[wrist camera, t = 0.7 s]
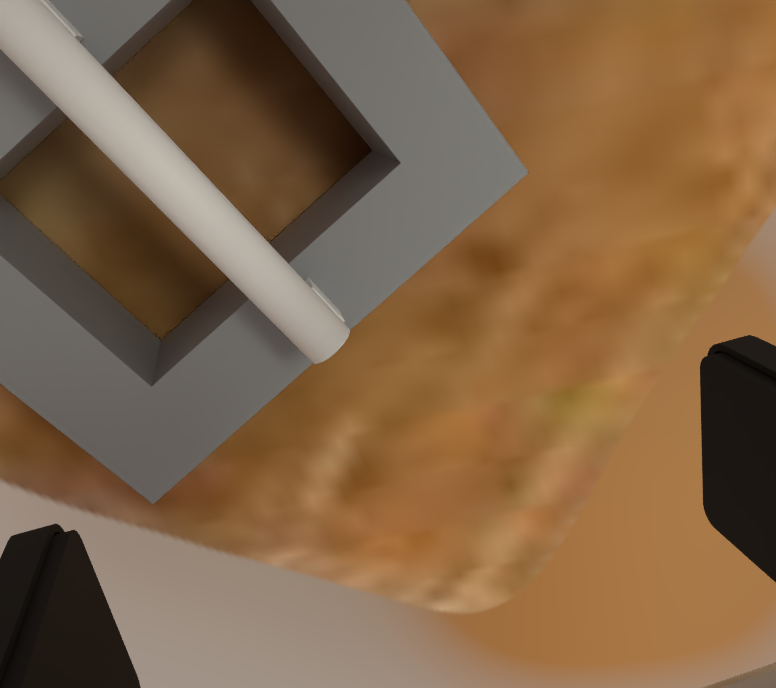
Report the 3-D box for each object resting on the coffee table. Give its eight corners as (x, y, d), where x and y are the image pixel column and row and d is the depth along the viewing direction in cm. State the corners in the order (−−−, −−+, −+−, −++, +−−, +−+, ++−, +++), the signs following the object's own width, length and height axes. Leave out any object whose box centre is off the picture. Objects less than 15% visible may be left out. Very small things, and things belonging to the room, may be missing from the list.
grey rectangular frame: (228, -184, 30) (234, -294, 21) (481, 159, 37) (564, 182, 28) (-154, 179, 31) (-297, 217, 22) (161, 443, 38) (146, 550, 29)
